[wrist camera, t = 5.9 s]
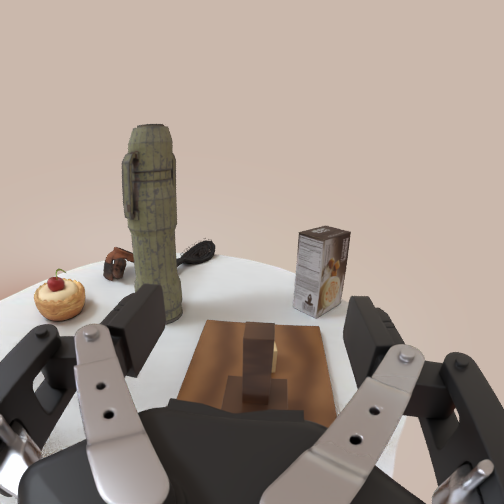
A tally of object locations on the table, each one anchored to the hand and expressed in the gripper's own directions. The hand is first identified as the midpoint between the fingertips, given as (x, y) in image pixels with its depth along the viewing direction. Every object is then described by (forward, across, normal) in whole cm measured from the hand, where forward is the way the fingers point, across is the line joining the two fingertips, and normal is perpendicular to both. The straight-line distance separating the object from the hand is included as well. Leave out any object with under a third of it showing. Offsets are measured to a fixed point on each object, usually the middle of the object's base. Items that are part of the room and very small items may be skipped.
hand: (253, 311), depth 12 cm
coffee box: (+43, -11, +24) cm, 51 cm away
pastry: (+31, +42, +24) cm, 58 cm away
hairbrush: (+62, +22, +24) cm, 70 cm away
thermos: (+36, +20, +24) cm, 48 cm away
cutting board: (+20, 0, +24) cm, 31 cm away
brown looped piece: (+51, +37, +24) cm, 68 cm away
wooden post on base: (+12, 0, +22) cm, 25 cm away
